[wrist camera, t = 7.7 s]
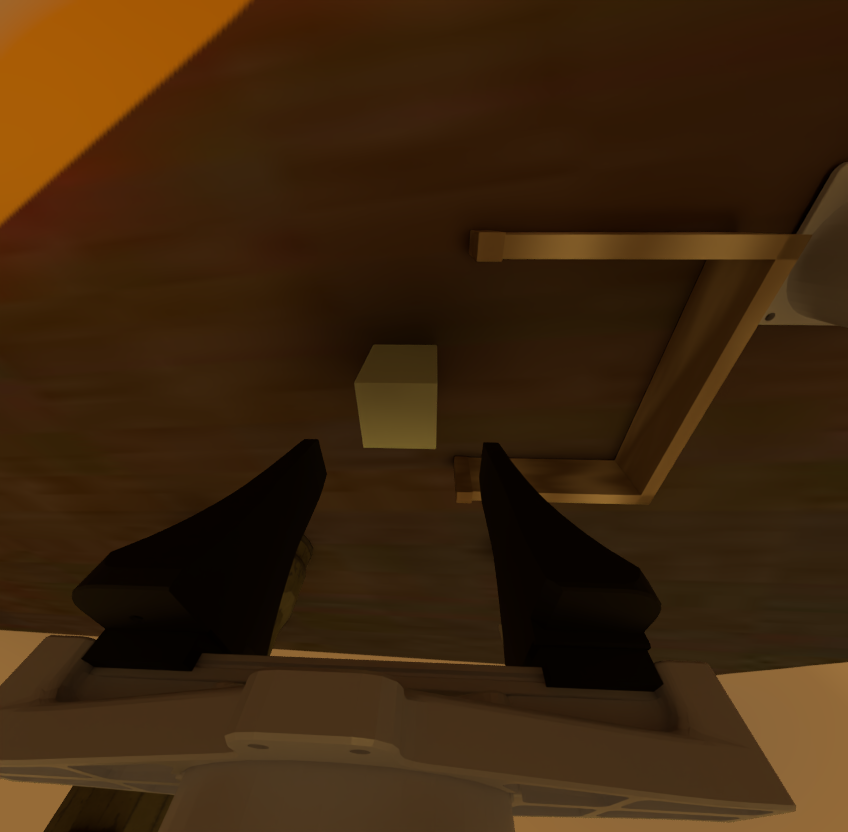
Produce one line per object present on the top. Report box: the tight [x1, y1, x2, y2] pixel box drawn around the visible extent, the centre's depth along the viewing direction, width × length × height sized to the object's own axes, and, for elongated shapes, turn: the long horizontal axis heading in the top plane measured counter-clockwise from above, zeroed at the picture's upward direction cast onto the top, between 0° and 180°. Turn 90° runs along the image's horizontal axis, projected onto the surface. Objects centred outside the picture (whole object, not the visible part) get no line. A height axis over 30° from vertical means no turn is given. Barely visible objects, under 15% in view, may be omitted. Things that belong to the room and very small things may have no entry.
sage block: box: [354, 344, 437, 449], centre depth 20 cm, size 4×4×6 cm
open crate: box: [454, 230, 812, 505], centre depth 20 cm, size 15×18×4 cm
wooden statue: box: [44, 535, 313, 832], centre depth 20 cm, size 9×12×35 cm
